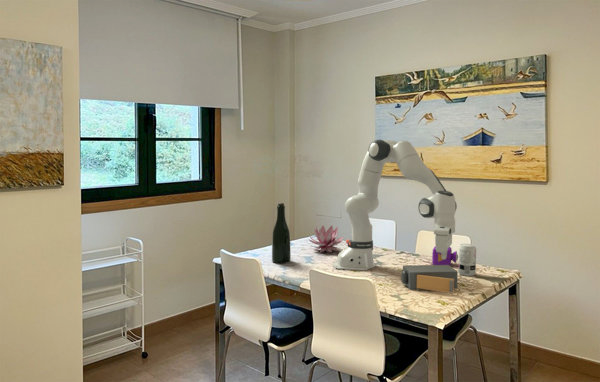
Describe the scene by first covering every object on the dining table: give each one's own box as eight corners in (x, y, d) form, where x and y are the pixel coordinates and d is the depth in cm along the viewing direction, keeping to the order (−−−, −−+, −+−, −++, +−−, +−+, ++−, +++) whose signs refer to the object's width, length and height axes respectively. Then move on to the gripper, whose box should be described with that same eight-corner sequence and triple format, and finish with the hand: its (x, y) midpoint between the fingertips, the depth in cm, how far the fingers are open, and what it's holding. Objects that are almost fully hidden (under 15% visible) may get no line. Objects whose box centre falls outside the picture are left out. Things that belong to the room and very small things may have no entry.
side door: (416, 288, 220) (416, 275, 219) (417, 287, 221) (417, 274, 221) (452, 293, 213) (453, 280, 212) (453, 292, 214) (453, 279, 214)
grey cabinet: (406, 289, 221) (406, 272, 221) (399, 282, 233) (399, 265, 232) (457, 288, 223) (457, 271, 222) (447, 281, 235) (448, 264, 234)
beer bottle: (282, 264, 266) (282, 204, 263) (268, 261, 272) (267, 203, 269) (294, 260, 274) (294, 202, 271) (280, 258, 281) (279, 201, 277)
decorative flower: (301, 251, 299) (301, 226, 297) (325, 246, 313) (325, 222, 312) (326, 257, 283) (326, 231, 281) (350, 251, 297) (351, 227, 296)
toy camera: (459, 267, 260) (459, 249, 259) (432, 266, 262) (433, 248, 261) (456, 262, 270) (457, 245, 269) (431, 261, 273) (431, 244, 272)
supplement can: (455, 272, 250) (456, 243, 249) (471, 272, 251) (472, 243, 249) (462, 276, 242) (463, 247, 241) (478, 276, 243) (479, 246, 241)
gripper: (441, 223, 226) (441, 253, 227) (432, 231, 207) (432, 262, 209) (455, 224, 223) (455, 254, 224) (448, 232, 204) (447, 264, 206)
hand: (444, 258), depth 216 cm, fingers closed
